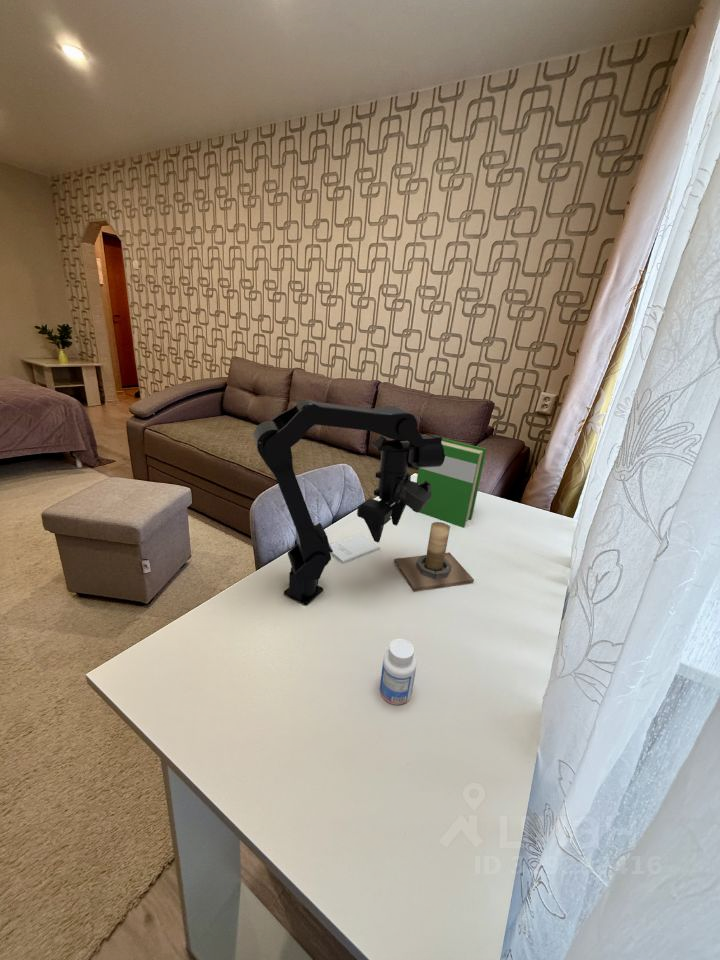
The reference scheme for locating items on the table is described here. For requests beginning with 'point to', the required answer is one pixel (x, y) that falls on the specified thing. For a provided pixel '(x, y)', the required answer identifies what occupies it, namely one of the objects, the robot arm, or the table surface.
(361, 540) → the external hard drive
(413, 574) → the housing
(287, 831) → the table surface
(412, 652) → the pill bottle
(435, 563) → the light brown tall cylinder
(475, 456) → the hardback book
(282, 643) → the table surface
